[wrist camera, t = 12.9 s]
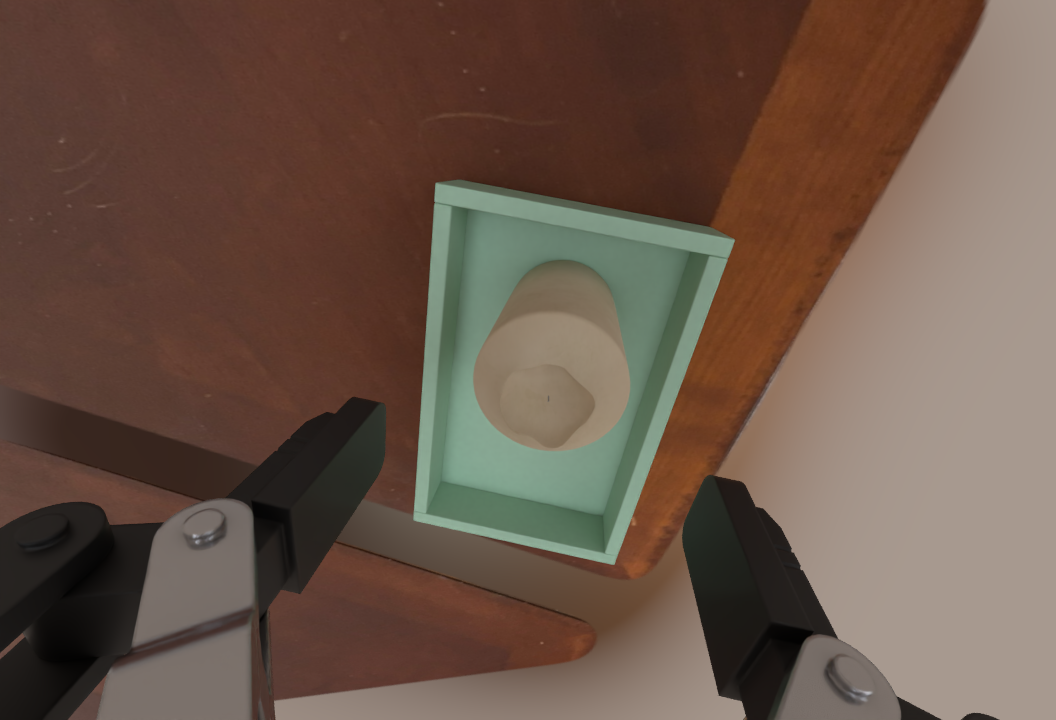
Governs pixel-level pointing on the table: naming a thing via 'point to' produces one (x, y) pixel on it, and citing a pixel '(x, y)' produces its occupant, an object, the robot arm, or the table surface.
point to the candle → (554, 360)
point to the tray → (468, 317)
